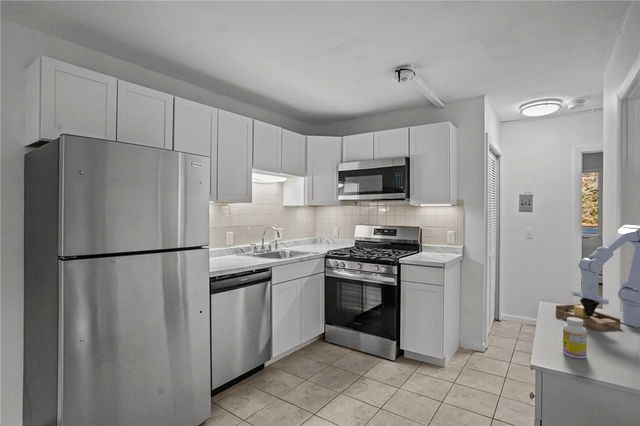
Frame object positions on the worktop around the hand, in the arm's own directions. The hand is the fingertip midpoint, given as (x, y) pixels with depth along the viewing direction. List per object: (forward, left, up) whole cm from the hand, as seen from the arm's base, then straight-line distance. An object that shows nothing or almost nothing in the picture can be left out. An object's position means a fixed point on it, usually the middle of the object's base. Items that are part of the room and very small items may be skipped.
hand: (589, 316), depth 147 cm
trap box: (-3, -4, -4) cm, 6 cm away
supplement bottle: (+34, +24, -4) cm, 42 cm away
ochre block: (0, -4, -1) cm, 4 cm away
